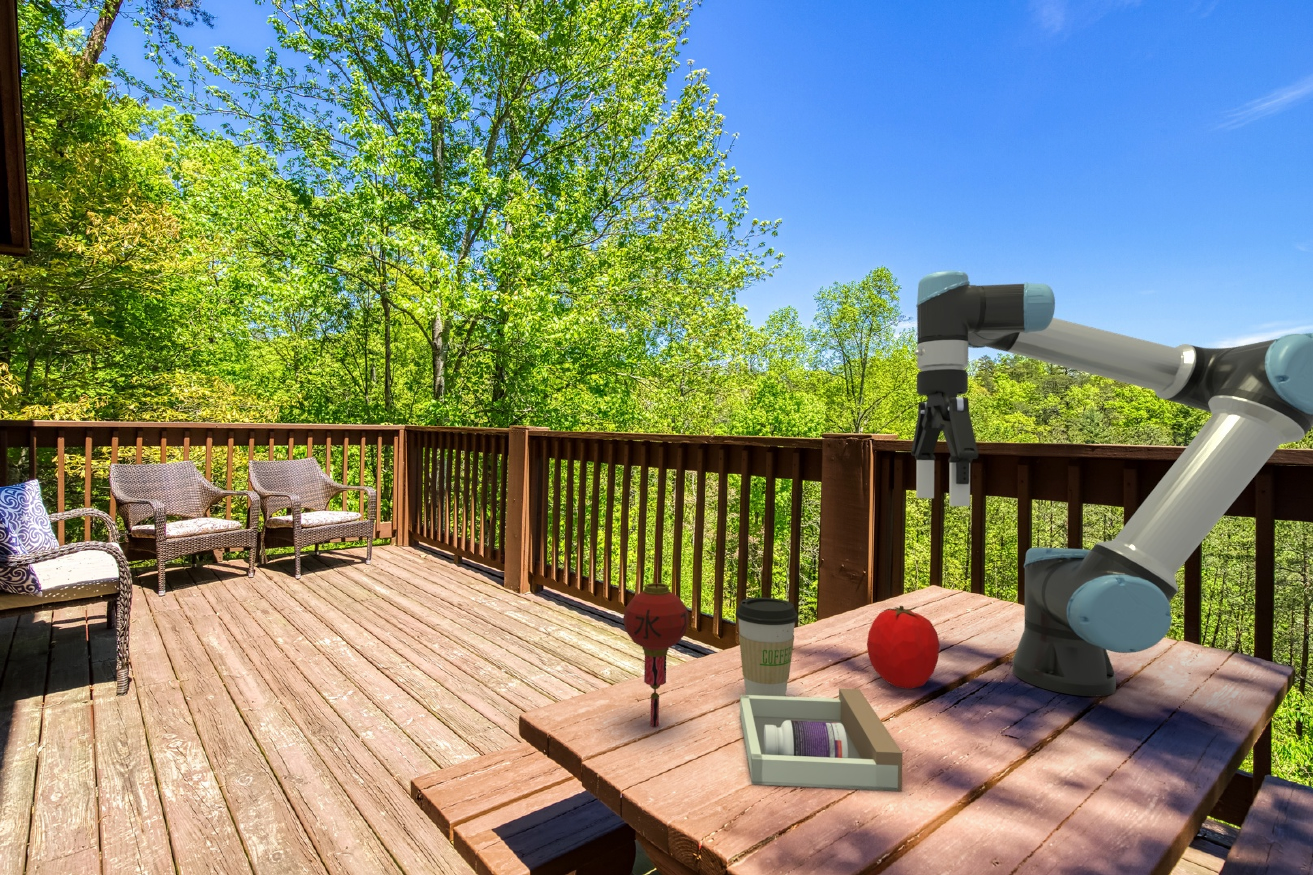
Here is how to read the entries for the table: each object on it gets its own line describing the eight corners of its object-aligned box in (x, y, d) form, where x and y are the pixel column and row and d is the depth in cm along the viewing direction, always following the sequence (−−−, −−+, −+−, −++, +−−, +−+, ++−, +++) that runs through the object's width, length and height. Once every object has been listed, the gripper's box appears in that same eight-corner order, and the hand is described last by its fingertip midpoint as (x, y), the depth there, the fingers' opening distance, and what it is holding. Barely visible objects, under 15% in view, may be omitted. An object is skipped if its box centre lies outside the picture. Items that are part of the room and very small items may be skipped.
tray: (859, 719, 93) (859, 689, 93) (901, 791, 74) (902, 752, 74) (739, 714, 94) (740, 684, 94) (751, 784, 75) (752, 746, 75)
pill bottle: (841, 713, 80) (764, 708, 80) (850, 745, 75) (767, 740, 75) (838, 747, 81) (762, 743, 82) (846, 781, 76) (765, 776, 77)
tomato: (868, 694, 102) (869, 613, 102) (864, 668, 114) (865, 595, 114) (946, 703, 99) (947, 619, 99) (933, 675, 111) (934, 600, 111)
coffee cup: (797, 714, 94) (799, 614, 94) (731, 707, 96) (733, 609, 96) (796, 689, 104) (797, 598, 104) (736, 683, 106) (737, 594, 106)
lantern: (695, 716, 93) (698, 513, 93) (676, 745, 84) (679, 521, 84) (635, 706, 96) (638, 510, 96) (611, 733, 87) (614, 517, 87)
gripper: (892, 378, 114) (892, 494, 114) (950, 360, 89) (949, 509, 89) (935, 378, 114) (934, 495, 113) (1004, 360, 89) (1004, 510, 89)
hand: (941, 502), depth 101 cm, fingers open, 13 cm apart
